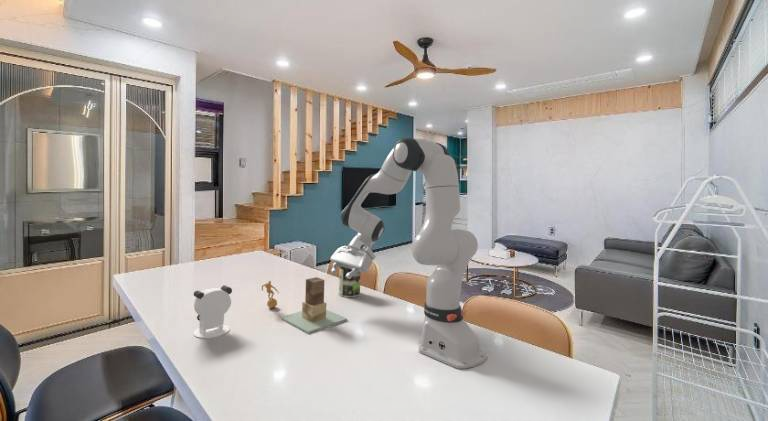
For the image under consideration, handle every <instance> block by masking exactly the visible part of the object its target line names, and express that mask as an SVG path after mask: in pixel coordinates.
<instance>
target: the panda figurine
mask: <svg viewBox="0 0 768 421" xmlns="http://www.w3.org/2000/svg"><path fill="white" fill-rule="evenodd" d="M232 293H233V290H232V287H230V286H228V285H222V286H221V287H220V288H219V287H218V288H217V287H213V288H208V289H204V290H202V291H200V290H195V291H194V292H193V296H194V297H196V298H195V300H194V302H193V303H194V304H193V307H194V311H195V313H196V314H197V316H196V319H197V320H198V322H199V327H198V328H196V329H195V330H194V331H193V336H194V337H196V338H197V339H203V340H205V339H214V338H220V337H222V336H225V335H226V334H228V333H229V332H230V331H231V328H230V325H227V324H224V321H225V320H224V319H225V314H226V313H227V312H228V311H229V309H230V307H231V305H232V299H231V296H230V295H231V294H232Z"/></svg>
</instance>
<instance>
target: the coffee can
mask: <svg viewBox="0 0 768 421" xmlns="http://www.w3.org/2000/svg"><path fill="white" fill-rule="evenodd" d="M338 268H339V274H338V279H339V280H338V281H339V282H338V295H339V297H343V298H351V299H352V298H357V297H359V296H360V295H361V275H362V274H361V273H362V272H359V271H358V272H357V273H356V274H355V275H353V276H352V277H351V279H348V278H347V277H346V275H347V273H350V272H351V271H352V269H349V268H345V267H342V266H339V267H338Z"/></svg>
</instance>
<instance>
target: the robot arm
mask: <svg viewBox="0 0 768 421" xmlns="http://www.w3.org/2000/svg"><path fill="white" fill-rule="evenodd" d="M417 171H418V172H419V173H420V172H421V173H422V174H423V175H424V176H423V177H424V184H425V185H424V191H425V215H424V220H423V224H422V227H421V228H420V230H419V232H418V233H417V235H416V236H415V237H414V238H413V240H412V243H411V247H410V249H411V254H412V257H413V259H414V260H415V261H416V263H418V264H420V265H425V266H431V267H432V266H433V267H434V266H436V267H435V270H434V271H433V272H432V273H431V275H429V277H428V279H427V281H426V291H425V292H426V293H425V294H426V297H425V301H424V307H423V313H424V315H425V316H424V319H423V320H424V321H423V326H422V331H421V335H420V339H419V341H418V344H419V347H418V352H419V353H421V354H423V355H425V356H427V357H430V358H432V359H434V360H436V361H439V362H441V363H443V364H446V365H449V366H450V367H453V368H454V369H455V368H456V369H457V370H458V369H460V370H461V369H463V370H464V369H470V368H473V367H476V366H479V365H481V364H483V363H484V362H485V361H486V360H487V353H486V352H485V351H483V350H481V349H480V341H479V337H478V336H477V334H476V333H475V332H474V330H472V328H471V327H470V325H469V324H468V323H467V321H465V320H464V316H465V315H467V314H466V313H467V311H466V310H465V311H463V310H462V306H461V305H460V304H461V290H462V283H463V280H464V279H463V278H464V275H465V272H466V269H467V267H468V266H469V265H468V264H469V263H470V262H471V260H472V258H473V257H474V256H475V255H476V254H477V252H478V248H479V244H478V239H477V237H476V236H475V234H473V233H472V232H471V231H468V230H465V229H460V228H454V229H452V225H453V223H454V222H453V221H454V219H455V217H456V216H457V215H459V214H460V211H461V199H460V197H461V196H460V195H461V193H460V183H459V174H458V169H457V166H456V161H455V160H454V158H453V157H452V156H450V152H449V150H448V148H447V147H446V146H445V145H443V144H442V143H440V142H435V141H431V140H427V139H424V138H413V137H405V138H400V139H399V140H398V141H397V142H396V143H395V144H394V147H393V148H392V149H391V150H390V152H389V153H388V154H387V156H386V158H385V160H384V161H383V163H382V165H381V168H380V169H379V170H378V172H377V173H375V174H374V173H373V174H370V175H369V176H368V177H366V179H365V180H364V181H363V183H362V184H361V185H360V187H358V189H357V191H356V192H355V194H354V196H353V197H352V198H351V200H350V201H349V203H348V204H347V205H346V206H345V207H344V209H343V210H342V212H341V213H340V221H341V223H342V225H343V226H345V227H347V228H349V229H352V230H353V231H355V232H356V233H357V234H356V235H355V236H353V238H352V239H351V241H350V242H349V243H348V245H347V246H346V245H343V246H341V247H339V248H337V249H336V250H335V251H334V252H333V253H332V255H331V256H330V258H329V260H330V262H331V263H332V268H331V270H330V273H331V274H333V275H336V273H337V272H338V270H337V268H340V267H339V266H342V267H345V268H349V269H352V271H351V272H350V273H347V275H346V277H347V278H348V279H351V277H352V276H353V275H355V274H356V273H357V272H358V271H359V272H361V273H366V272H367V271H368V270H369V269H370V267H371V266H372V264H373V260H375V259H376V256H377V255H375V253H374V252H373V250H372V247H373V245H374V244H375V243H376V242H378V240H380V238H381V236H382V235H383V233H384V231H385V223H384V221H383V220H382V219H381V218H380V217H378V216H377V215H375V214H373V213H371V212H369V211H368V210H366V209H364V208H363V207H362V203H363V202H364V201H365V199H366V198H367V197H368V195H369V194H370V193H371V194H372V193H375V194H376V193H377V194H382V195H394V194H398V193H400V192H402V190H403V189H404V187H405V185H406V184H407V182H408V181H409V178H410V176H411V174H412V172H417Z"/></svg>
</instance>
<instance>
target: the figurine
mask: <svg viewBox="0 0 768 421" xmlns="http://www.w3.org/2000/svg"><path fill="white" fill-rule="evenodd" d="M264 287H265V289H266V293H267V294H268V295H267V296H268V300H267V302H266V303H267V304H266V305H267V307H268V308H269V309H274V308H276V307H277V305H278V301H277V299H275V298H273V297H274V295H275V292H274V291H273V289H274V290H275V291H276V292H277V294H280V292H279V291H278V289H277V288H276V287H275V286H273V285H272V281H271V280H268V282H266V283H263V284H262V285H261V291H264ZM270 296H271V297H270Z"/></svg>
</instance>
